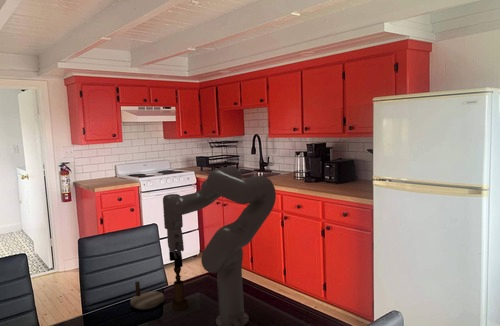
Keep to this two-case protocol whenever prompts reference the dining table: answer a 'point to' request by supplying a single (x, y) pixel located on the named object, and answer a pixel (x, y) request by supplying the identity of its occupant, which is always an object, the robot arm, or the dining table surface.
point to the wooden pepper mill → (179, 293)
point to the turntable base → (147, 308)
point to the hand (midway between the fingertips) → (176, 263)
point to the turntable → (146, 298)
